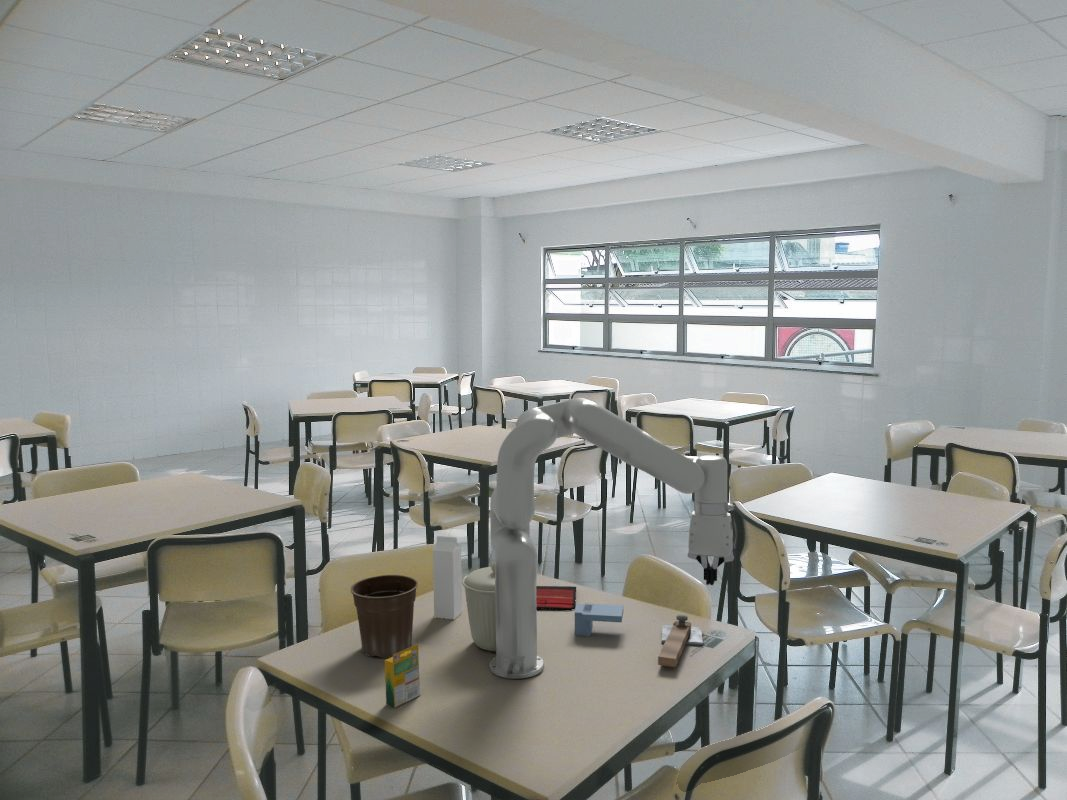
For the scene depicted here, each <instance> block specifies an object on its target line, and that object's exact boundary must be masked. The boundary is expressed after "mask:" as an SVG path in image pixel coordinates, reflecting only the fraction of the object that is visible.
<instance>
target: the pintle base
mask: <svg viewBox="0 0 1067 800" xmlns="http://www.w3.org/2000/svg"><path fill="white" fill-rule="evenodd" d="M672 627H673V625H671V624H669V625H667V624H662V626H661V644H664V643H665V641H666V639H667V637H668V635H669V633H670V631H671V629H672ZM703 641H704V640H703V631H702V627H701V626H691V633H690V634H689V636H688V639H687V641H686V643H685V646H699V645H703V644H704V642H703Z"/></svg>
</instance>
